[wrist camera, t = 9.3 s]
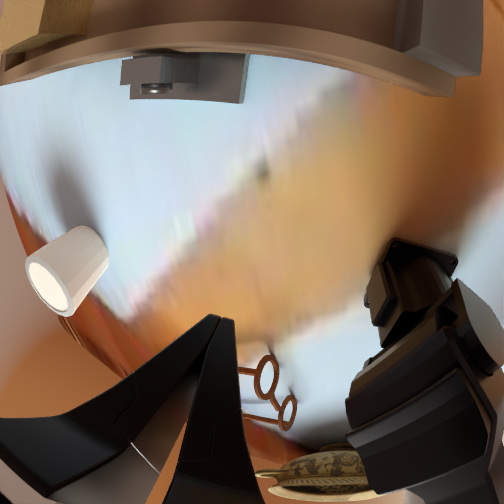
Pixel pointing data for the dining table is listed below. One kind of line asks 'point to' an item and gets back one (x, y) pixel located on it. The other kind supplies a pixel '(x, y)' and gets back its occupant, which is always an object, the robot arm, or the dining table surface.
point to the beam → (282, 37)
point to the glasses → (270, 394)
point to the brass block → (41, 23)
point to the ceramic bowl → (322, 476)
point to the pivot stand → (187, 76)
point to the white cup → (67, 268)
